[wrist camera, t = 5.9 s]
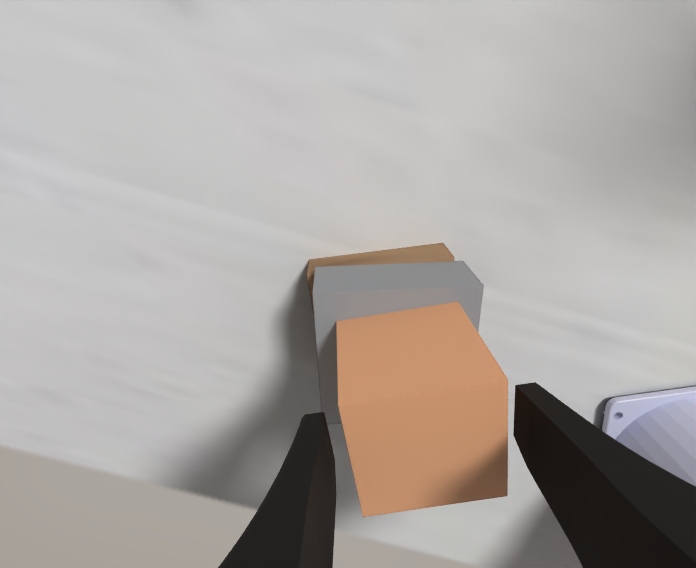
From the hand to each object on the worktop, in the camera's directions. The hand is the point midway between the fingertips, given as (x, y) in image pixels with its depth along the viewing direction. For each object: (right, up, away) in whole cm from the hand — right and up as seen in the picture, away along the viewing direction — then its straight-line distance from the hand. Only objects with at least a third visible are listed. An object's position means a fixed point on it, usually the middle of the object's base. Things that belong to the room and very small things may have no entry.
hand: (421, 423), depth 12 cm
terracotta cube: (0, +1, +3) cm, 3 cm away
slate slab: (-1, +2, +5) cm, 6 cm away
